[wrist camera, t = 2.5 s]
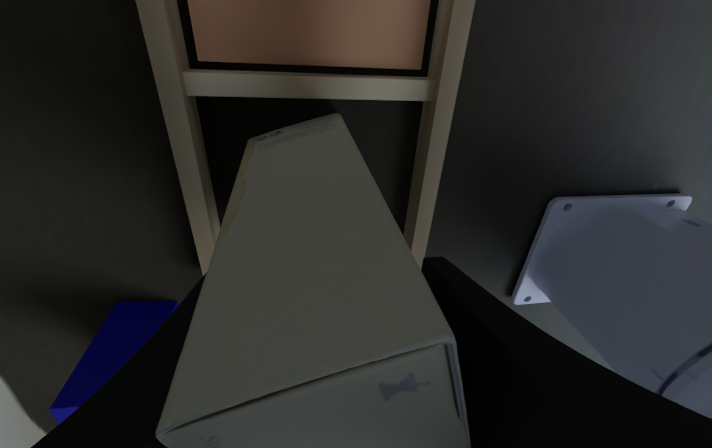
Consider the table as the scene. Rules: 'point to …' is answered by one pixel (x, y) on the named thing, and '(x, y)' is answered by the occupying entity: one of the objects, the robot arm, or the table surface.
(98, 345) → the cable clip
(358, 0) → the pink framed panel
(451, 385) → the skincare box
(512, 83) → the table surface
